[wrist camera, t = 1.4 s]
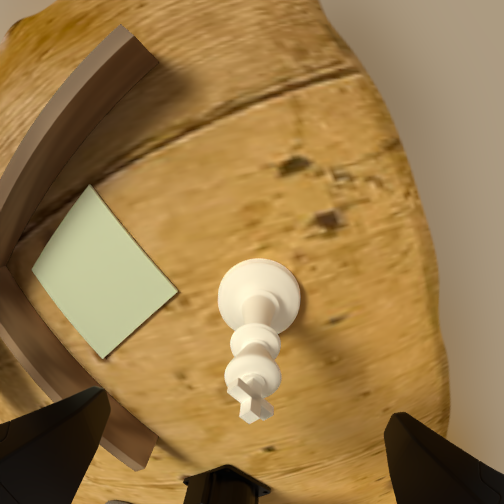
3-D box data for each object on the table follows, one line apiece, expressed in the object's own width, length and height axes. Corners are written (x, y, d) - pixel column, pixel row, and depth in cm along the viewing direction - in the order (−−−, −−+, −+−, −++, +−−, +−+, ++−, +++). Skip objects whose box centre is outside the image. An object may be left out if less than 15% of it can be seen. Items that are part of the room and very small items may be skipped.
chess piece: (255, 348, 18) (244, 475, 8) (201, 293, 17) (138, 400, 8) (316, 301, 17) (362, 416, 7) (262, 240, 17) (257, 313, 7)
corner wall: (369, 302, 17) (392, 330, 13) (148, 440, 21) (135, 471, 17) (146, 50, 14) (120, 24, 10) (-7, 263, 18) (-36, 274, 14)
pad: (178, 290, 17) (177, 291, 17) (103, 357, 19) (102, 358, 19) (90, 184, 16) (89, 184, 16) (33, 269, 18) (31, 269, 18)
